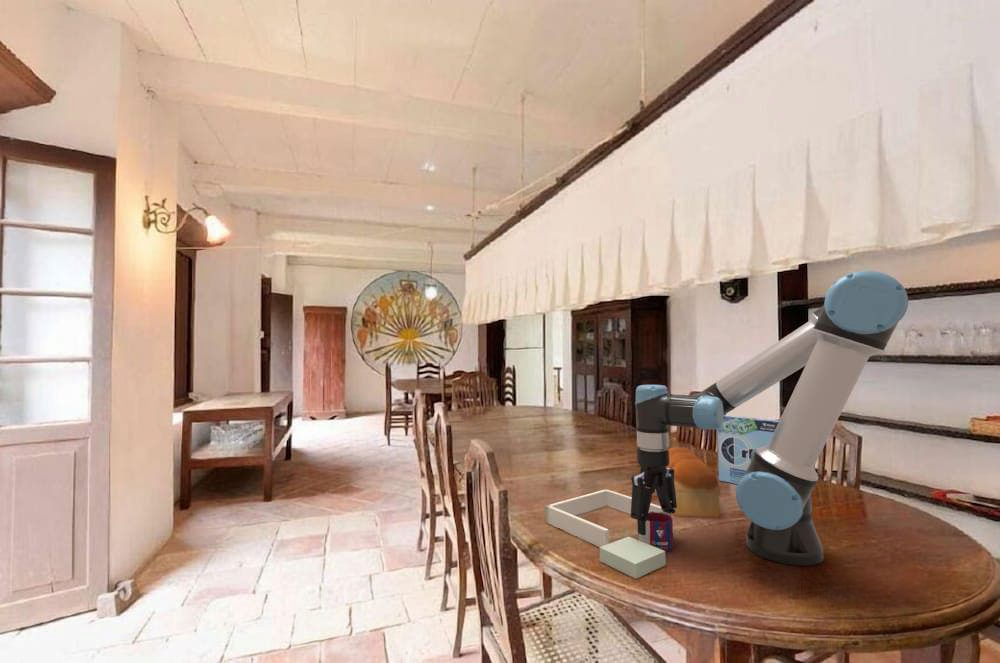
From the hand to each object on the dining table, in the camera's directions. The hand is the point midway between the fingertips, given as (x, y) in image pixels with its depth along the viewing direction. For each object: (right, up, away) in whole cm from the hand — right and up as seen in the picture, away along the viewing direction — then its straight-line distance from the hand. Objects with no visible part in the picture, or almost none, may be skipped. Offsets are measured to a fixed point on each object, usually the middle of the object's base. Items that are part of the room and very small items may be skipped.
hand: (655, 543), depth 111 cm
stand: (-8, 0, -10) cm, 13 cm away
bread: (+20, -2, +29) cm, 35 cm away
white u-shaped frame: (-9, -1, +13) cm, 16 cm away
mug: (+1, 0, 0) cm, 1 cm away
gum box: (+48, -1, +45) cm, 66 cm away
